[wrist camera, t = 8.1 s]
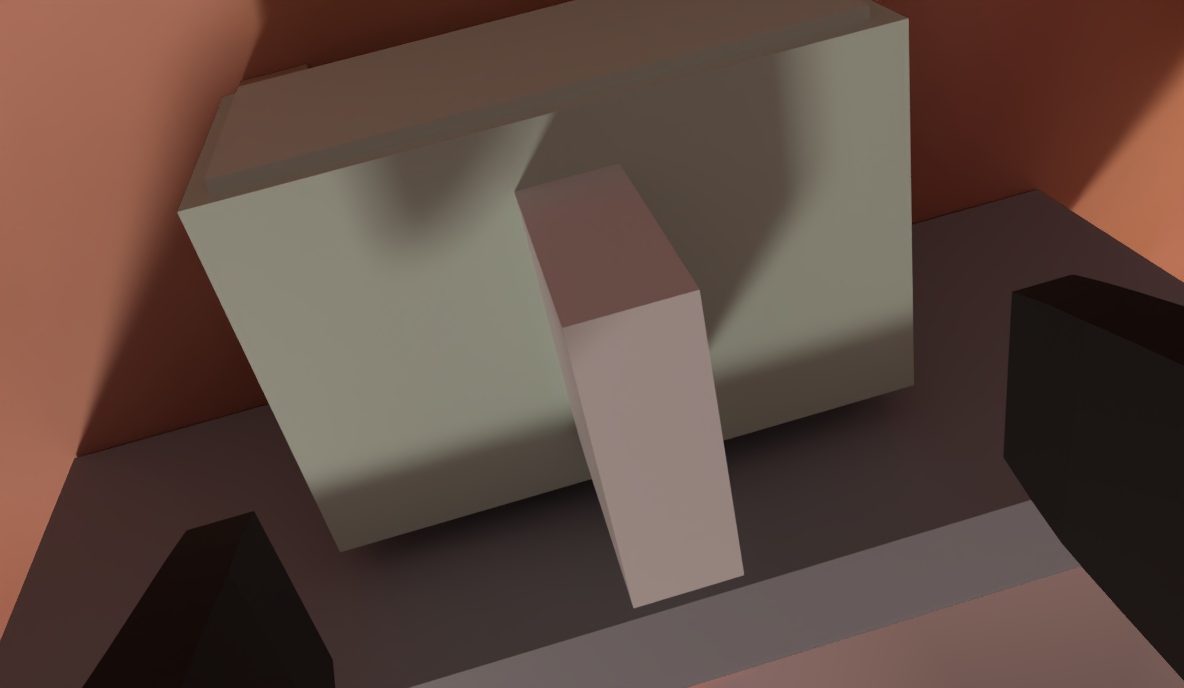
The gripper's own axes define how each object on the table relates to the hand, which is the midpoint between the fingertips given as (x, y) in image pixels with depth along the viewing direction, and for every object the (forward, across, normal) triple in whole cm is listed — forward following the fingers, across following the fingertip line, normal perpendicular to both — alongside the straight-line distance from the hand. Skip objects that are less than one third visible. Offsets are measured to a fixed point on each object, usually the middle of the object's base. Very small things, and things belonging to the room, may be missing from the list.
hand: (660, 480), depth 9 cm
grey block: (+8, 0, 0) cm, 8 cm away
